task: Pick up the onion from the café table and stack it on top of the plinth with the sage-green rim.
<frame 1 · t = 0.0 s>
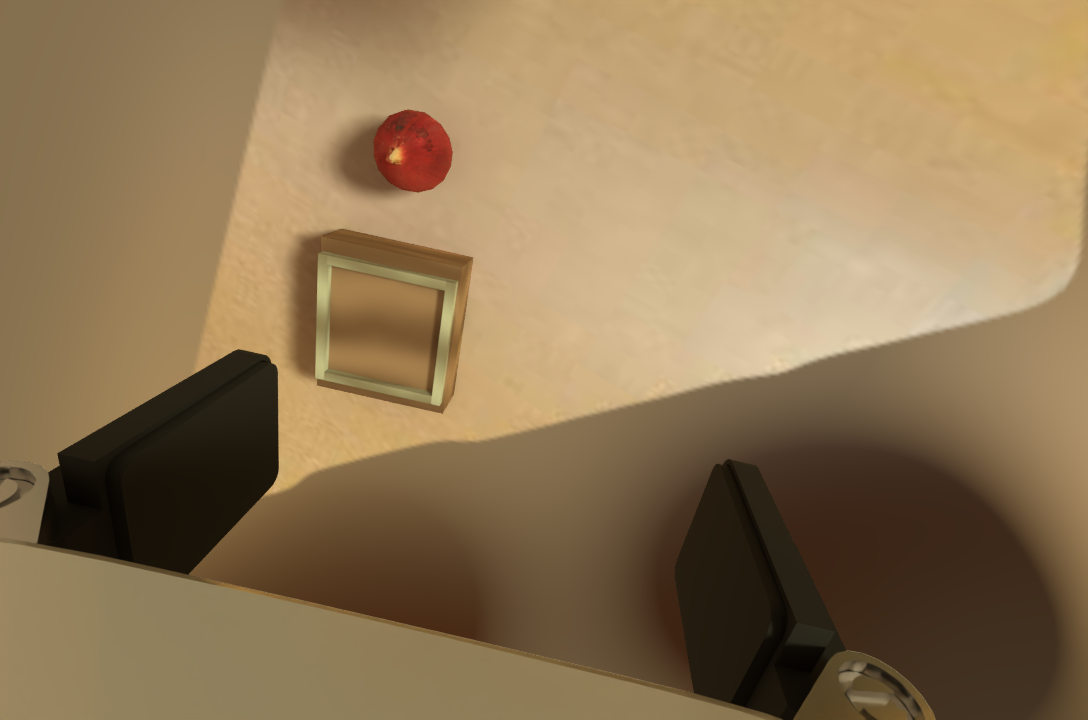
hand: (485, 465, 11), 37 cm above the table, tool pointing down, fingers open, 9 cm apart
plinth: (401, 316, 50), on the table
onion: (428, 151, 44), on the table
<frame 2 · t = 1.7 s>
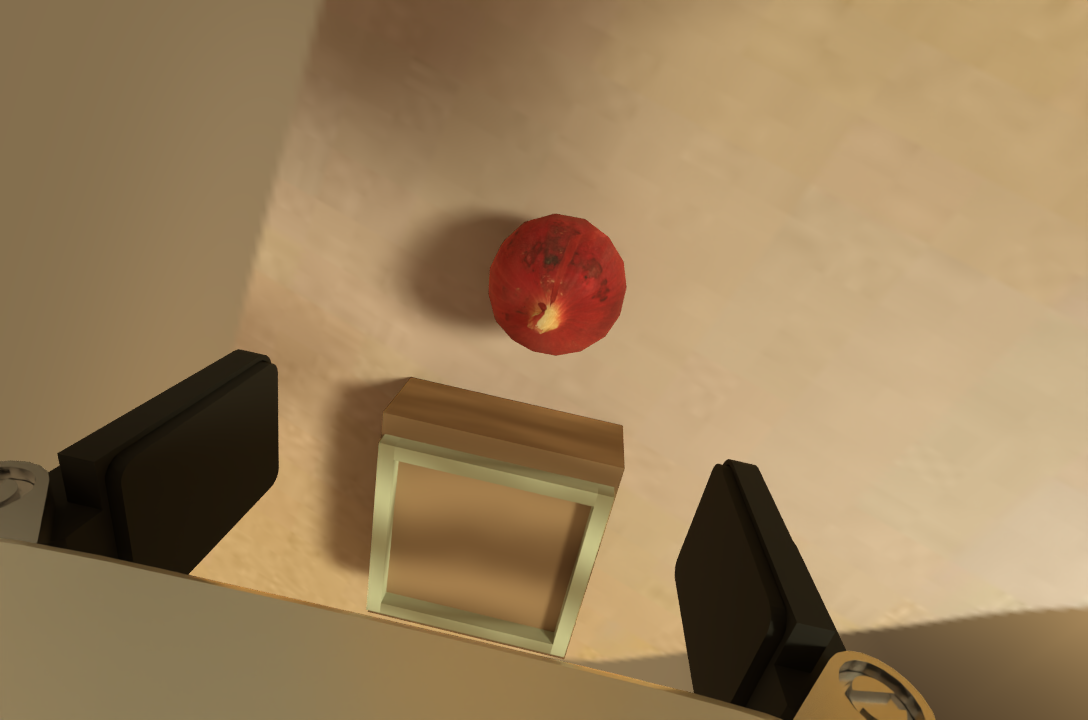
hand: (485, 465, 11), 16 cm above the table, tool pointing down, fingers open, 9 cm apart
plinth: (496, 500, 32), on the table
onion: (564, 264, 26), on the table
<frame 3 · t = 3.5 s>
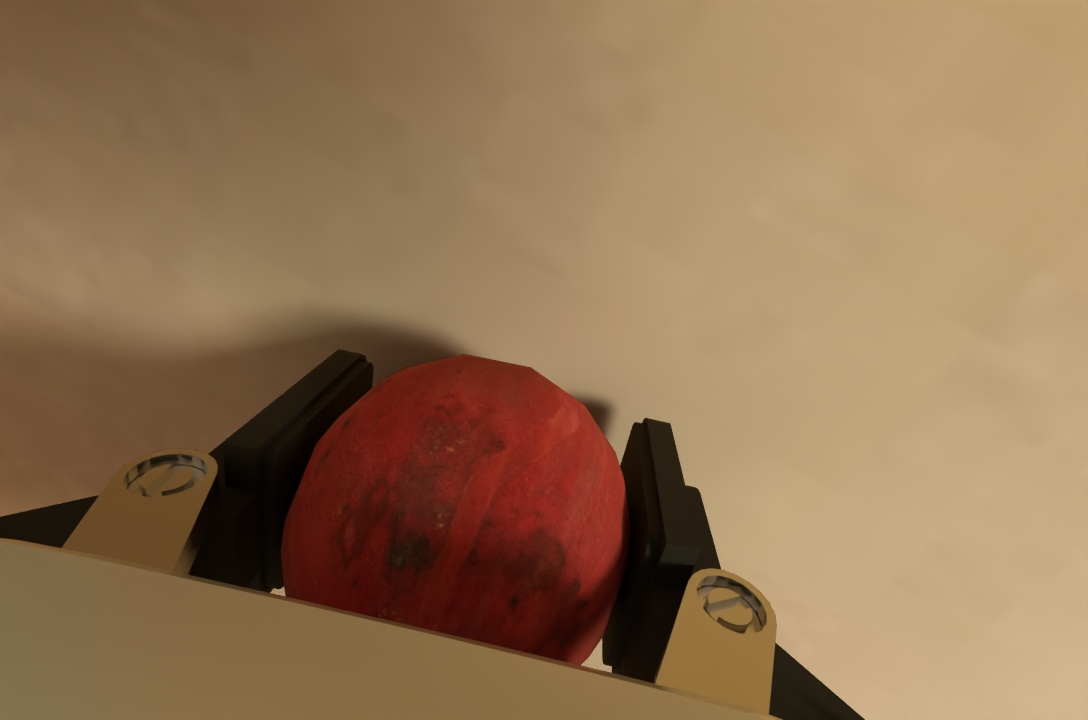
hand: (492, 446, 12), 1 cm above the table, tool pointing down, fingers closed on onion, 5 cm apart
onion: (503, 416, 13), on the table, touching gripper
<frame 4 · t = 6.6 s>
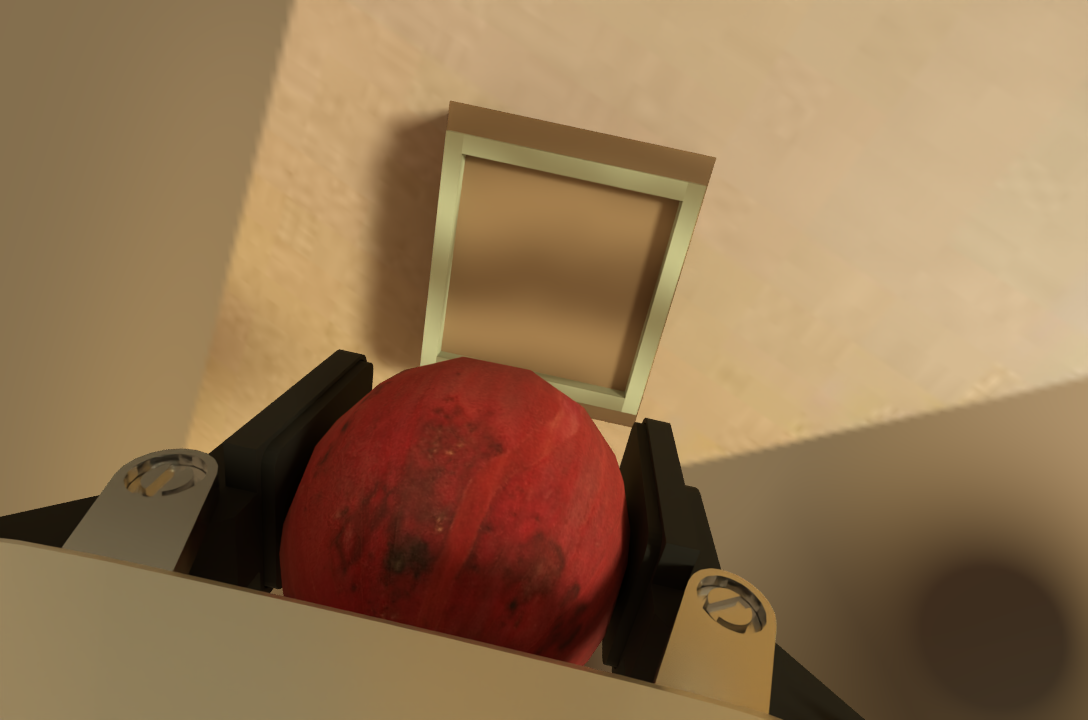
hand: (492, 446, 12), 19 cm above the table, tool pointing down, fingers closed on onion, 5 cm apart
plinth: (557, 263, 30), on the table
onion: (503, 418, 13), point 18 cm above the table, touching gripper
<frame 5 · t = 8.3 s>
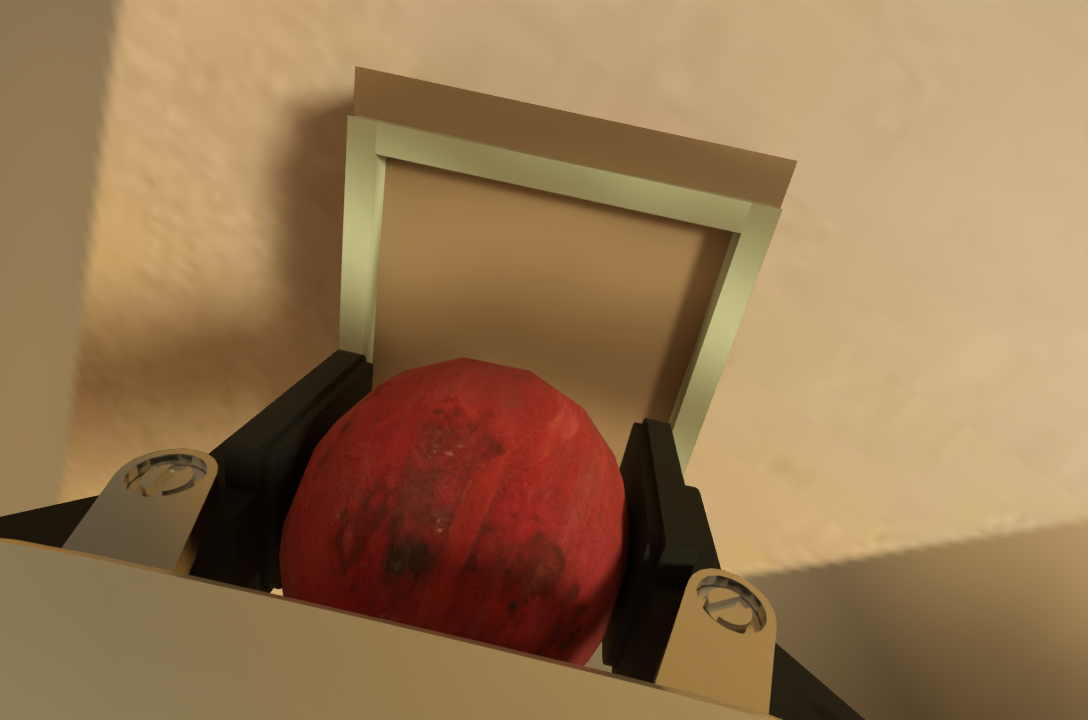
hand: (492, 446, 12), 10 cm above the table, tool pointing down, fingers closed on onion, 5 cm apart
plinth: (541, 312, 20), on the table
onion: (503, 418, 13), point 8 cm above the table, touching gripper
when the fingers open (7 cm above the table, at t = 9.7 s): onion drops 2 cm, resting on plinth.
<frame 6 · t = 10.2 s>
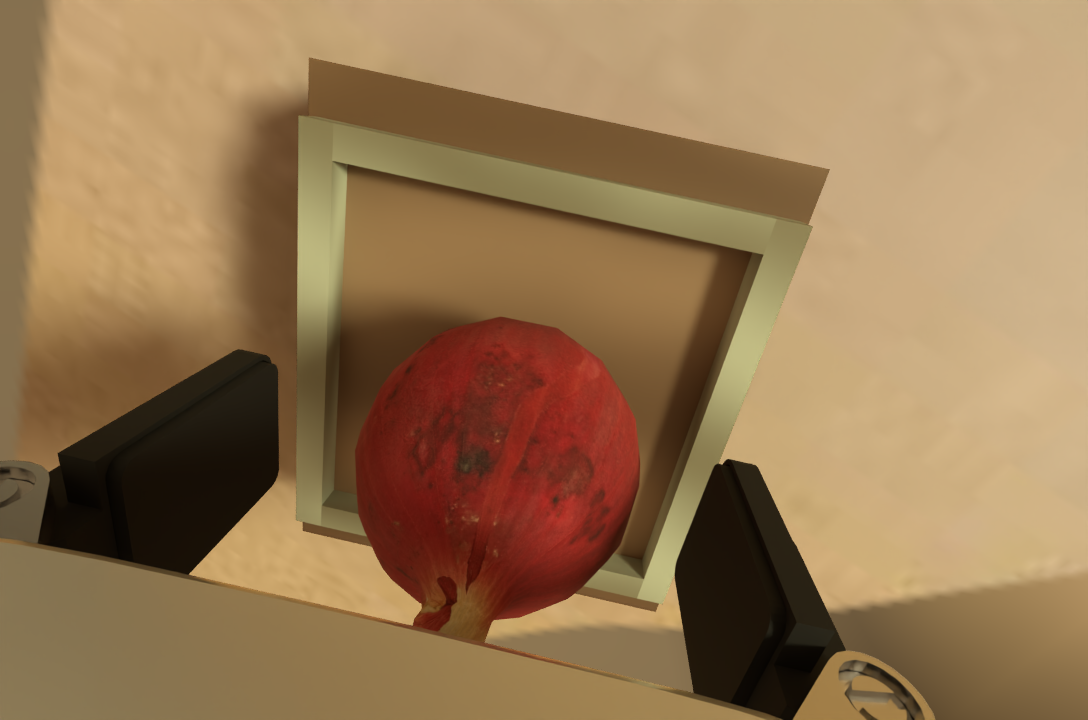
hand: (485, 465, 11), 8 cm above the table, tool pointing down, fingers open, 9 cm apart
plinth: (531, 336, 18), on the table
onion: (523, 380, 15), point 4 cm above the table, touching plinth
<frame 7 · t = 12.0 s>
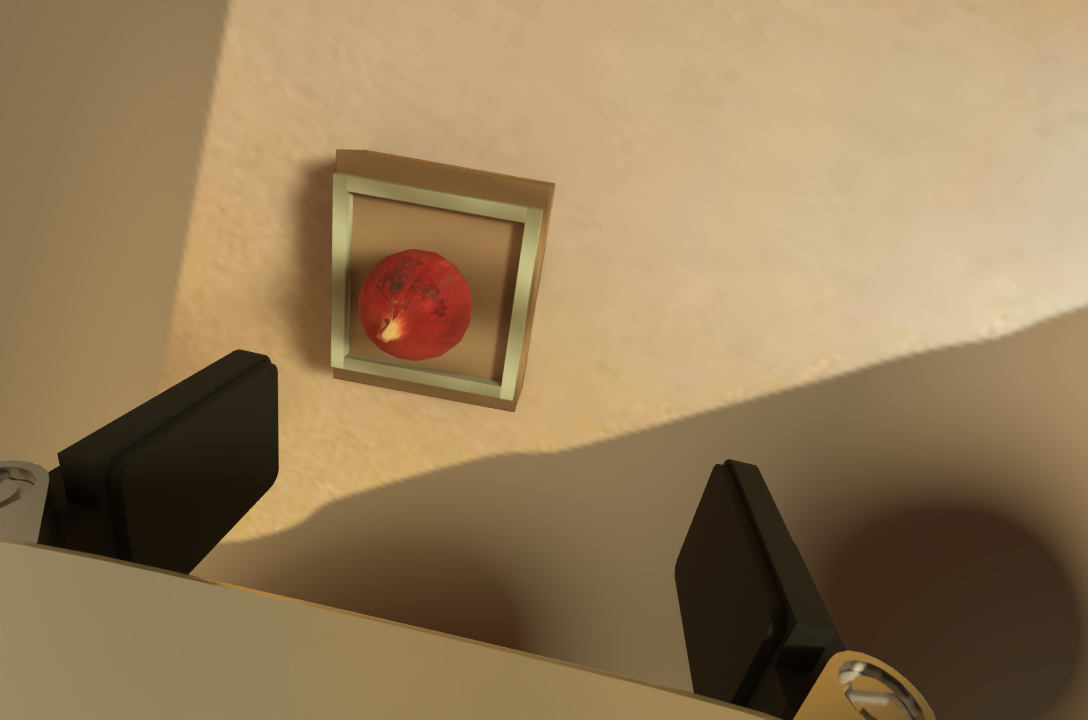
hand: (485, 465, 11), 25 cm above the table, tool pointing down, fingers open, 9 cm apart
plinth: (449, 276, 35), on the table
onion: (437, 288, 32), point 4 cm above the table, touching plinth
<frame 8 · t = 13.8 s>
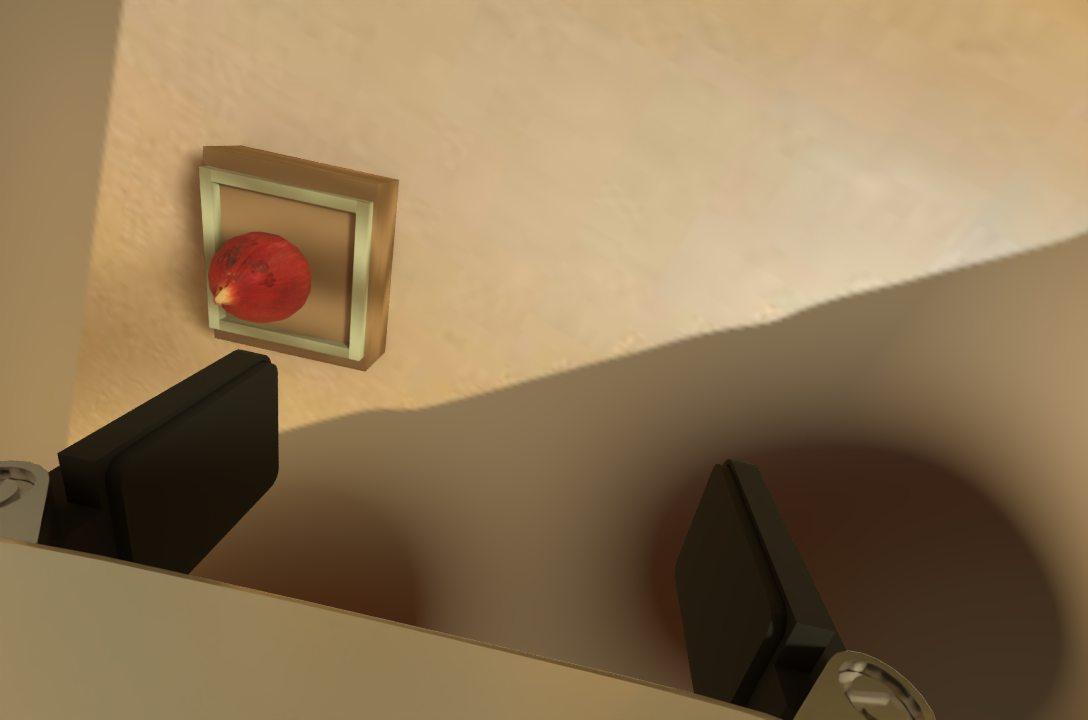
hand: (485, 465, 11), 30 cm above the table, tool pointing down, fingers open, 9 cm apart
plinth: (317, 255, 42), on the table
onion: (294, 264, 38), point 4 cm above the table, touching plinth
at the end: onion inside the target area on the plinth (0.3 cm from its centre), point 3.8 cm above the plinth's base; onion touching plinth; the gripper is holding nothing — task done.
